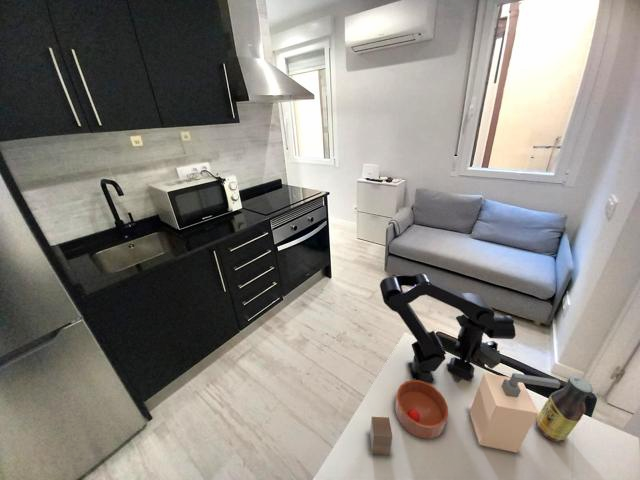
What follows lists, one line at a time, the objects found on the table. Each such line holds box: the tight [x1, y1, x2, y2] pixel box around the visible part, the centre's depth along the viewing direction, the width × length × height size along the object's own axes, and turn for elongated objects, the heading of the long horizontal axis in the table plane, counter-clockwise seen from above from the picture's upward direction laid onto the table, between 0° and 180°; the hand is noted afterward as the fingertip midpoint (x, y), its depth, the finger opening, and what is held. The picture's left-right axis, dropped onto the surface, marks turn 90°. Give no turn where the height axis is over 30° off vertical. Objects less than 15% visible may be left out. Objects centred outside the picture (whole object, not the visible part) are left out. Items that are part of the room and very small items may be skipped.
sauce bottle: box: [535, 375, 594, 443], centre depth 64 cm, size 7×6×20 cm
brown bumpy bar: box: [445, 361, 475, 380], centre depth 84 cm, size 8×2×2 cm
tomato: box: [407, 409, 420, 422], centre depth 70 cm, size 3×3×3 cm
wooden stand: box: [369, 416, 393, 456], centre depth 65 cm, size 4×4×8 cm
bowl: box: [394, 379, 449, 440], centre depth 72 cm, size 13×13×5 cm
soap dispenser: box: [469, 372, 562, 453], centre depth 64 cm, size 13×9×22 cm
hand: (459, 370), depth 83 cm, fingers open, 9 cm apart
